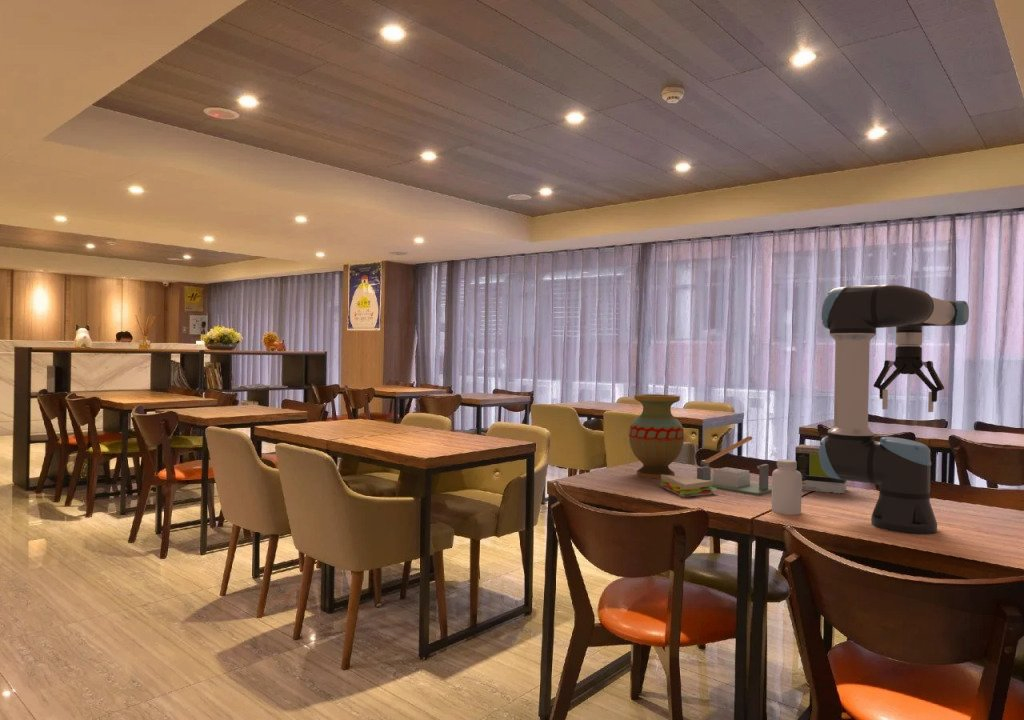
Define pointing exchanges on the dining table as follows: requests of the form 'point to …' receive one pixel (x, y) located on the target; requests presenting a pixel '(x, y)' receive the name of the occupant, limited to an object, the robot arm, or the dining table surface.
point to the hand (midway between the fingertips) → (907, 410)
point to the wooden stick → (724, 452)
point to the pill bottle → (786, 488)
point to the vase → (656, 435)
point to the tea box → (815, 471)
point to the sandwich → (687, 485)
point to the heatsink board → (736, 479)
